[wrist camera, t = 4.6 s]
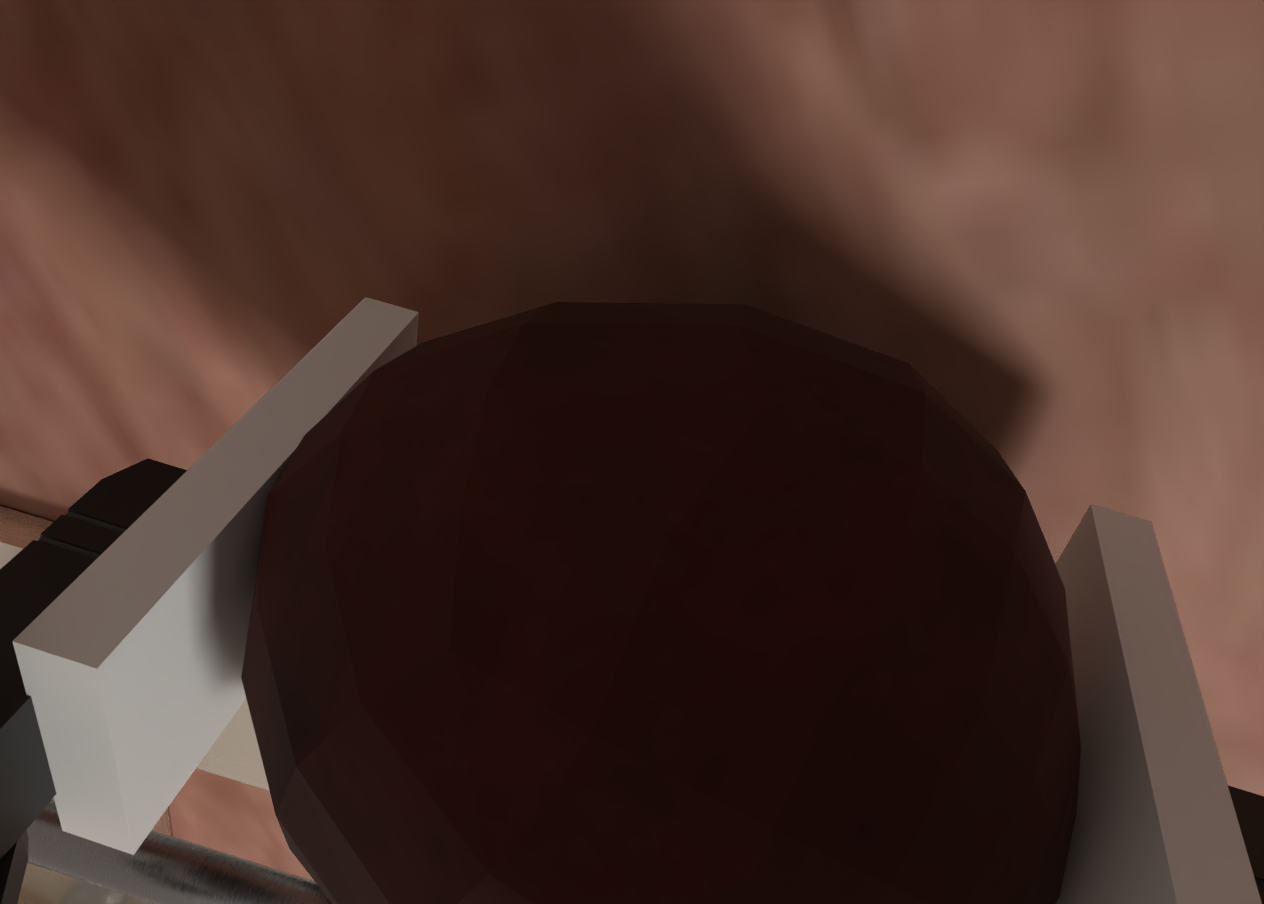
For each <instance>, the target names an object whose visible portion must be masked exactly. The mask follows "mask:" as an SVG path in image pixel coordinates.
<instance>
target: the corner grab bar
mask: <svg viewBox="0 0 1264 904" xmlns="http://www.w3.org/2000/svg"><path fill="white" fill-rule="evenodd" d="M52 523H53V522H52V521H49V520H46V519H42V518H39V517H35V516H32V515H29V514H25V513H22V512H19V511H15V510H12V509H8V508H5V507H2V506H0V569H1V568H2V567H3V566H5V565H6V564H7V563H8V562H9V561H10V560H11V559H12V558H14V557H15V556H16V555H17V554H18V553H19V552H20V551H21V550H23V549H24V548H25V547H26V546H27V545H28V544H29V543H31V542H32V541H33V540H36V541H38V540H39V538H40V536H41V533H42V532H43V531H44V530H45V529H46V528H47V527H49V526H50V525H51V524H52ZM196 768H198V769H201V770H204V771H207V772H210V773H214V774H217V775H220V776H223V777H227V778H230V779H233V780H236V781H239V782H243V783H246V784H249V785H252V786H255V787H259V788H262V789H265V790H268V791H270V790H269V786H268V782H267V778H266V774H265V770H264V766H263V762H262V758H261V754H260V750H259V746H258V742H257V738H256V734H255V730H254V727H253V723H252V719H251V715H250V711H249V707H248V703H247V699H245V700H244V702H243V703H242V705H241V706H240V707H239V709H238V710H237V712H236V713H235V714H234V716H233V717H232V719H231V720H230V721H229V723H228V724H227V726H226V727H225V728H224V730H223V731H222V733H221V734H220V735H219V737H218V738H217V740H216V741H215V742H214V744H213V745H212V746H211V748H210V749H209V751H208V752H207V753H206V755H205V756H204V758H203V759H202V760H201V762H200V763H199V765H198V766H197V767H196ZM27 834H28V862H27V866H26V870H25V874H24V878H23V882H22V887H21V891H20V895H19V899H18V903H17V904H332V902H331V901H330V900H329V899H328V897H327V896H326V895H325V893H324V892H323V891H322V890H321V888H320V887H319V886H318V884H317V883H316V882H315V881H312V880H308V879H305V878H302V877H299V876H296V875H293V874H289V873H286V872H283V871H280V870H277V869H274V868H270V867H267V866H264V865H261V864H258V863H255V862H252V861H248V860H245V859H242V858H239V857H236V856H233V855H229V854H226V853H223V852H220V851H217V850H214V849H210V848H207V847H204V846H201V845H198V844H195V843H191V842H188V841H185V840H182V839H179V838H176V837H172V836H171V830H170V823H169V816H168V809H166V811H165V812H164V813H163V815H162V816H161V818H160V819H159V820H158V822H157V823H156V825H155V826H154V827H153V829H152V830H151V832H150V833H149V834H148V836H147V837H146V839H145V840H144V841H143V843H142V844H141V845H140V847H139V848H138V850H137V851H136V852H135V854H134V855H132V854H129V853H126V852H123V851H120V850H117V849H114V848H111V847H108V846H106V845H103V844H100V843H97V842H94V841H91V840H88V839H85V838H82V837H79V836H76V835H73V834H70V833H67V832H64V831H62V827H61V823H60V820H59V816H58V812H57V808H56V805H55V801H54V797H53V798H52V800H51V801H50V802H49V803H48V804H47V806H46V807H45V808H44V809H43V810H42V812H41V813H40V814H39V815H38V816H37V818H36V819H35V820H34V821H33V822H32V824H31V825H30V826H29V827H28V828H27Z"/></svg>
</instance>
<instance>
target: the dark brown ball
mask: <svg viewBox="0 0 1264 904" xmlns="http://www.w3.org/2000/svg"><path fill="white" fill-rule="evenodd" d="M241 679H242V683H243V687H244V691H245V695H246V699H247V703H248V707H249V711H250V715H251V719H252V723H253V727H254V730H255V734H256V738H257V742H258V746H259V750H260V754H261V758H262V762H263V766H264V770H265V774H266V778H267V782H268V786H269V790H270V794H271V798H272V802H273V806H274V810H275V814H276V817H277V819H278V821H279V824H280V826H281V829H282V831H283V834H284V836H285V839H286V841H287V843H288V846H289V848H290V850H291V851H292V852H293V854H294V855H295V856H296V857H297V859H298V860H299V861H300V863H301V864H302V865H303V866H304V868H305V869H306V870H307V872H308V873H309V874H310V875H311V877H312V878H313V879H314V881H315V882H316V883H317V884H318V886H319V887H320V888H321V890H322V891H323V892H324V893H325V895H326V896H327V897H328V899H329V900H330V901H331V902H332V904H1056V903H1057V900H1058V898H1059V895H1060V892H1061V887H1062V882H1063V877H1064V872H1065V867H1066V862H1067V857H1068V853H1069V848H1070V843H1071V838H1072V833H1073V828H1074V823H1075V818H1076V811H1077V798H1078V785H1079V771H1080V758H1081V742H1080V732H1079V722H1078V712H1077V702H1076V692H1075V682H1074V672H1073V662H1072V652H1071V642H1070V632H1069V622H1068V612H1067V602H1066V592H1065V587H1064V585H1063V582H1062V580H1061V577H1060V575H1059V572H1058V570H1057V567H1056V565H1055V562H1054V560H1053V558H1052V555H1051V553H1050V550H1049V548H1048V545H1047V543H1046V540H1045V538H1044V535H1043V533H1042V531H1041V528H1040V526H1039V523H1038V521H1037V518H1036V516H1035V513H1034V511H1033V509H1032V506H1031V504H1030V501H1029V499H1028V496H1027V494H1026V491H1025V490H1024V488H1023V487H1022V486H1021V484H1020V483H1019V481H1018V480H1017V478H1016V477H1015V476H1014V474H1013V473H1012V471H1011V470H1010V468H1009V467H1008V465H1007V464H1006V463H1005V461H1004V460H1003V458H1002V457H1001V455H1000V454H999V452H998V451H997V450H996V449H995V448H994V447H993V446H992V445H991V444H990V443H989V442H988V441H987V440H986V439H985V438H984V437H983V436H982V435H981V434H980V433H979V432H978V431H977V430H976V429H975V428H974V427H973V426H972V425H971V424H970V423H969V422H968V421H967V420H966V419H965V418H964V417H963V416H962V415H961V414H960V413H959V412H958V411H957V410H956V409H954V408H953V407H952V406H951V405H950V404H949V403H948V402H947V401H946V400H945V399H944V398H943V397H942V396H941V395H940V394H939V393H938V392H937V391H936V390H935V389H934V388H933V387H932V386H931V385H930V384H929V383H928V382H927V381H926V380H925V379H924V378H923V377H922V376H921V375H920V374H919V373H918V372H917V371H916V370H915V369H914V368H913V367H912V366H911V365H910V364H909V363H906V362H903V361H900V360H897V359H895V358H892V357H889V356H886V355H883V354H881V353H878V352H875V351H872V350H869V349H867V348H864V347H861V346H858V345H855V344H853V343H850V342H847V341H844V340H841V339H839V338H836V337H833V336H830V335H827V334H825V333H822V332H819V331H816V330H813V329H811V328H808V327H805V326H802V325H799V324H797V323H794V322H791V321H788V320H785V319H783V318H780V317H777V316H774V315H771V314H769V313H766V312H763V311H760V310H757V309H755V308H752V307H749V306H746V305H739V304H659V303H579V302H556V303H553V304H549V305H546V306H543V307H539V308H536V309H533V310H529V311H526V312H523V313H519V314H516V315H513V316H510V317H506V318H503V319H500V320H496V321H493V322H490V323H486V324H483V325H480V326H476V327H473V328H470V329H467V330H463V331H460V332H457V333H453V334H450V335H447V336H443V337H440V338H437V339H433V340H430V341H427V342H424V343H421V344H419V345H417V346H415V347H414V348H412V349H410V350H409V351H407V352H405V353H403V354H402V355H400V356H398V357H397V358H395V359H393V360H391V361H390V362H388V363H386V364H385V365H383V366H381V367H379V368H378V369H376V370H374V371H373V372H372V373H371V374H370V375H369V376H368V377H367V378H366V379H365V380H364V381H363V382H361V383H360V384H359V385H358V386H357V387H356V388H355V389H354V390H353V391H352V392H351V393H350V394H348V395H347V396H346V397H345V398H344V399H343V400H342V401H341V402H340V403H339V404H338V405H337V406H335V407H334V408H333V409H332V410H331V411H330V412H329V413H328V414H327V415H326V416H325V417H324V418H322V419H321V420H320V421H319V422H318V423H317V424H316V425H315V426H314V427H313V428H312V429H311V430H309V431H308V432H307V433H306V434H305V435H304V437H303V439H302V440H301V442H300V443H299V445H298V447H297V448H296V450H295V452H294V453H293V455H292V457H291V458H290V460H289V462H288V463H287V465H286V466H285V468H284V470H283V471H282V473H281V475H280V476H279V478H278V480H277V481H276V483H275V485H274V486H273V488H272V490H271V491H270V493H269V494H268V498H267V505H266V512H265V518H264V525H263V532H262V539H261V546H260V552H259V559H258V566H257V573H256V580H255V587H254V593H253V600H252V607H251V614H250V621H249V627H248V634H247V641H246V648H245V655H244V662H243V668H242V675H241Z"/></svg>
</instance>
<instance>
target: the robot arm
mask: <svg viewBox="0 0 1264 904" xmlns="http://www.w3.org/2000/svg"><path fill="white" fill-rule="evenodd" d="M418 316H419V312H417V311H413V310H410V309H406V308H403V307H399V306H396V305H392V304H389V303H385V302H381V301H378V300H374V299H371V298H367V297H365V298H364V299H363V300H362V301H361V302H360V303H359V304H358V305H357V306H356V307H354V308H353V309H352V310H351V311H350V312H349V313H348V314H347V315H346V316H345V317H344V318H343V319H342V320H341V321H340V322H339V323H338V324H337V325H336V326H335V327H334V328H333V329H332V330H331V331H330V332H329V333H328V334H327V335H326V336H325V337H324V338H323V339H322V340H321V341H320V342H319V343H318V344H317V345H316V346H315V347H313V348H312V349H311V350H310V351H309V352H308V353H307V354H306V355H305V356H304V357H303V358H302V359H301V360H300V361H299V362H298V363H297V364H296V365H295V366H294V367H293V368H292V369H291V370H290V371H289V372H288V373H287V374H286V375H285V376H284V377H283V378H282V379H281V380H280V381H279V382H278V383H277V384H276V385H275V386H274V387H272V388H271V389H270V390H269V391H268V392H267V393H266V394H265V395H264V396H263V397H262V398H261V399H260V400H259V401H258V402H257V403H256V404H255V405H254V406H253V407H252V408H251V409H250V410H249V411H248V412H247V413H246V414H245V415H244V416H243V417H242V418H241V419H240V420H239V421H238V422H237V423H236V424H235V425H234V426H233V427H231V428H230V429H229V430H228V431H227V432H226V433H225V434H224V435H223V436H222V437H221V438H220V439H219V440H218V441H217V442H216V443H215V444H214V445H213V446H212V447H211V448H210V449H209V450H208V451H207V452H206V453H205V454H204V455H203V456H202V457H201V458H200V459H199V460H198V461H197V462H196V463H195V464H194V465H193V466H192V467H190V468H189V469H188V470H184V469H181V468H177V467H174V466H171V465H168V464H164V463H161V462H158V461H154V460H151V459H146V460H143V461H141V462H139V463H137V464H135V465H132V466H130V467H128V468H126V469H124V470H121V471H119V472H117V473H115V474H113V475H110V476H108V477H106V478H104V479H102V480H101V481H99V482H98V483H97V484H96V485H95V486H94V487H93V488H92V489H90V490H89V491H88V492H87V493H86V494H85V495H84V496H83V497H81V498H80V499H79V500H78V501H77V502H76V503H75V504H73V505H72V506H71V507H70V508H69V509H68V513H67V515H66V516H63V515H61V516H60V517H59V518H58V519H57V520H55V521H54V522H53V523H52V524H51V525H50V526H49V527H47V528H46V529H45V530H44V531H43V532H42V533H41V536H40V538H39V540H38V541H36V540H33V541H32V542H31V543H29V544H28V545H27V546H26V547H25V548H24V549H23V550H21V551H20V552H19V553H18V554H17V555H16V556H15V557H14V558H12V559H11V560H10V561H9V562H8V563H7V564H6V565H5V566H3V567H2V568H1V569H0V904H17V903H18V899H19V895H20V891H21V887H22V882H23V878H24V874H25V870H26V866H27V862H28V834H27V828H28V827H29V826H30V825H31V824H32V822H33V821H34V820H35V819H36V818H37V816H38V815H39V814H40V813H41V812H42V810H43V809H44V808H45V807H46V806H47V804H48V803H49V802H50V801H51V800H52V798H53V797H54V801H55V805H56V808H57V812H58V816H59V820H60V823H61V827H62V831H64V832H67V833H70V834H73V835H76V836H79V837H82V838H85V839H88V840H91V841H94V842H97V843H100V844H103V845H106V846H108V847H111V848H114V849H117V850H120V851H123V852H126V853H129V854H132V855H134V854H135V852H136V851H137V850H138V848H139V847H140V845H141V844H142V843H143V841H144V840H145V839H146V837H147V836H148V834H149V833H150V832H151V830H152V829H153V827H154V826H155V825H156V823H157V822H158V820H159V819H160V818H161V816H162V815H163V813H164V812H165V811H166V809H167V808H168V806H169V805H170V804H171V802H172V801H173V799H174V798H175V797H176V795H177V794H178V792H179V791H180V790H181V788H182V787H183V786H184V784H185V783H186V781H187V780H188V779H189V777H190V776H191V774H192V773H193V772H194V770H195V769H196V767H197V766H198V765H199V763H200V762H201V760H202V759H203V758H204V756H205V755H206V753H207V752H208V751H209V749H210V748H211V746H212V745H213V744H214V742H215V741H216V740H217V738H218V737H219V735H220V734H221V733H222V731H223V730H224V728H225V727H226V726H227V724H228V723H229V721H230V720H231V719H232V717H233V716H234V714H235V713H236V712H237V710H238V709H239V707H240V706H241V705H242V703H243V702H244V700H245V699H246V695H245V691H244V687H243V683H242V679H241V675H242V668H243V662H244V655H245V648H246V641H247V634H248V627H249V621H250V614H251V607H252V600H253V593H254V587H255V580H256V573H257V566H258V559H259V552H260V546H261V539H262V532H263V525H264V518H265V512H266V505H267V498H268V494H269V493H270V491H271V490H272V488H273V486H274V485H275V483H276V481H277V480H278V478H279V476H280V475H281V473H282V471H283V470H284V468H285V466H286V465H287V463H288V462H289V460H290V458H291V457H292V455H293V453H294V452H295V450H296V448H297V447H298V445H299V443H300V442H301V440H302V439H303V437H304V435H305V434H306V433H307V432H308V431H309V430H311V429H312V428H313V427H314V426H315V425H316V424H317V423H318V422H319V421H320V420H321V419H322V418H324V417H325V416H326V415H327V414H328V413H329V412H330V411H331V410H332V409H333V408H334V407H335V406H337V405H338V404H339V403H340V402H341V401H342V400H343V399H344V398H345V397H346V396H347V395H348V394H350V393H351V392H352V391H353V390H354V389H355V388H356V387H357V386H358V385H359V384H360V383H361V382H363V381H364V380H365V379H366V378H367V377H368V376H369V375H370V374H371V373H372V372H373V371H374V370H376V369H378V368H379V367H381V366H383V365H385V364H386V363H388V362H390V361H391V360H393V359H395V358H397V357H398V356H400V355H402V354H403V353H405V352H407V351H409V350H410V349H412V348H414V347H415V346H417V332H418ZM1056 567H1057V570H1058V572H1059V575H1060V577H1061V580H1062V582H1063V585H1064V587H1065V592H1066V602H1067V612H1068V622H1069V632H1070V642H1071V652H1072V662H1073V672H1074V682H1075V692H1076V702H1077V712H1078V722H1079V732H1080V742H1081V758H1080V771H1079V785H1078V798H1077V811H1076V818H1075V823H1074V828H1073V833H1072V838H1071V843H1070V848H1069V853H1068V857H1067V862H1066V867H1065V872H1064V877H1063V882H1062V887H1061V892H1060V895H1059V898H1058V900H1057V903H1056V904H1264V796H1260V795H1257V794H1254V793H1251V792H1247V791H1244V790H1241V789H1237V788H1234V787H1231V786H1228V785H1227V781H1226V778H1225V774H1224V771H1223V768H1222V764H1221V761H1220V757H1219V754H1218V750H1217V747H1216V743H1215V740H1214V736H1213V733H1212V730H1211V726H1210V723H1209V719H1208V716H1207V712H1206V709H1205V705H1204V702H1203V698H1202V695H1201V692H1200V688H1199V685H1198V681H1197V678H1196V674H1195V671H1194V667H1193V664H1192V660H1191V657H1190V654H1189V650H1188V647H1187V643H1186V640H1185V636H1184V633H1183V629H1182V626H1181V622H1180V619H1179V616H1178V612H1177V609H1176V605H1175V602H1174V598H1173V595H1172V591H1171V588H1170V584H1169V581H1168V578H1167V574H1166V571H1165V567H1164V564H1163V560H1162V557H1161V553H1160V550H1159V546H1158V543H1157V540H1156V536H1155V533H1154V529H1153V526H1152V522H1151V521H1148V520H1144V519H1141V518H1137V517H1134V516H1130V515H1127V514H1124V513H1120V512H1117V511H1113V510H1110V509H1106V508H1103V507H1099V506H1096V505H1092V504H1091V505H1090V506H1089V508H1088V510H1087V512H1086V513H1085V515H1084V517H1083V518H1082V520H1081V522H1080V524H1079V525H1078V527H1077V529H1076V530H1075V532H1074V534H1073V535H1072V537H1071V539H1070V541H1069V542H1068V544H1067V546H1066V547H1065V549H1064V551H1063V553H1062V554H1061V556H1060V558H1059V559H1058V561H1057V563H1056Z"/></svg>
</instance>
